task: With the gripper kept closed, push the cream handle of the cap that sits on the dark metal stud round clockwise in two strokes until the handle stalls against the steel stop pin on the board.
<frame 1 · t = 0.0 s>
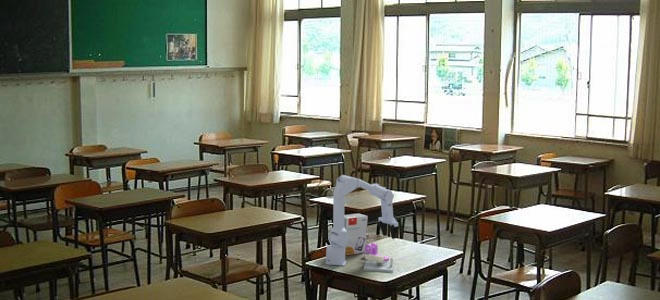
hand: (389, 236, 420), 11 cm above the table, tool pointing down, fingers open, 7 cm apart
cap: (374, 258, 401), point 4 cm above the table, hinge at 0.0°
board: (379, 267, 400), on the table
hard drive box: (350, 253, 426), on the table
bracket: (377, 258, 418), on the table
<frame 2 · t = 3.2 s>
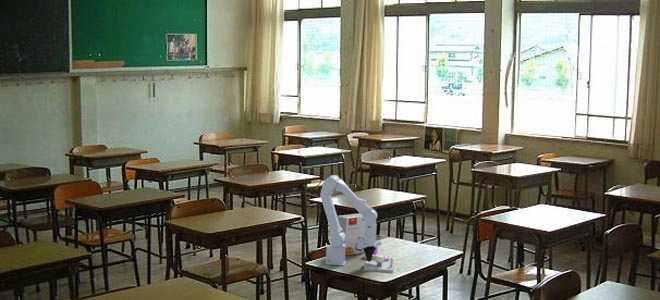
hand: (368, 261, 401), 3 cm above the table, tool pointing down, fingers closed
cap: (374, 258, 401), point 4 cm above the table, hinge at -0.6°, touching gripper
everything else where it was.
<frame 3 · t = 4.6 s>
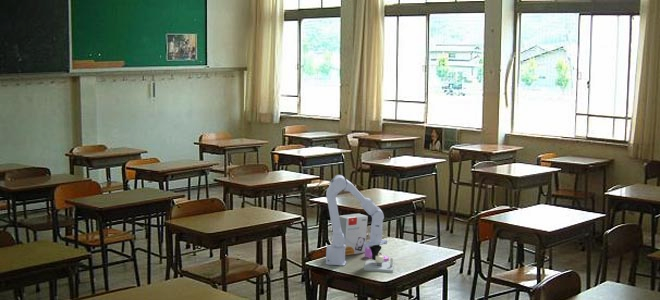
hand: (374, 259, 405), 2 cm above the table, tool pointing down, fingers closed, pressing on cap
cap: (379, 257, 402), point 4 cm above the table, hinge at -57.0°, touching gripper
everything else where it was.
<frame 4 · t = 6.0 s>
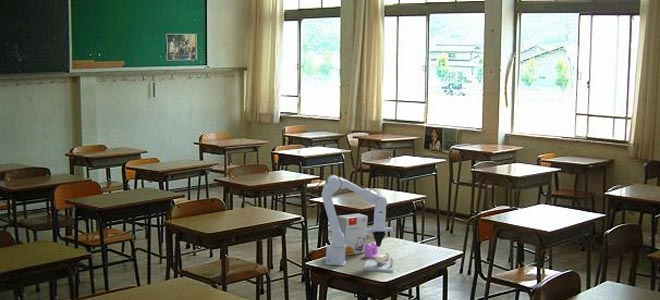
hand: (378, 246, 404), 9 cm above the table, tool pointing down, fingers closed
cap: (382, 258, 402), point 4 cm above the table, hinge at -85.7°
everything else where it was.
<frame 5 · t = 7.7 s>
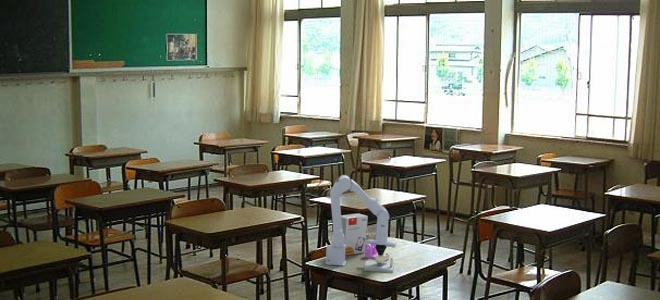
hand: (380, 259, 405), 3 cm above the table, tool pointing down, fingers closed
cap: (382, 258, 402), point 4 cm above the table, hinge at -85.8°, touching gripper
everything else where it was.
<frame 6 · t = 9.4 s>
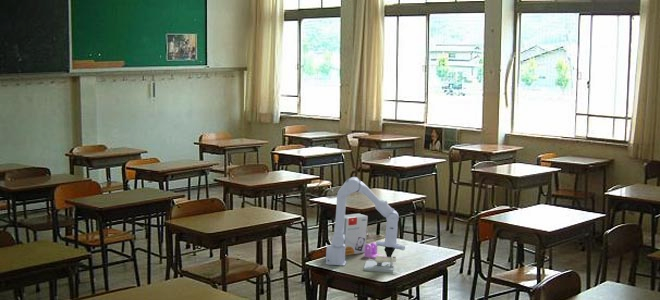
hand: (389, 261, 402), 2 cm above the table, tool pointing down, fingers closed, pressing on cap
cap: (385, 259, 399), point 4 cm above the table, hinge at -140.5°, touching board, gripper
everything else where it was.
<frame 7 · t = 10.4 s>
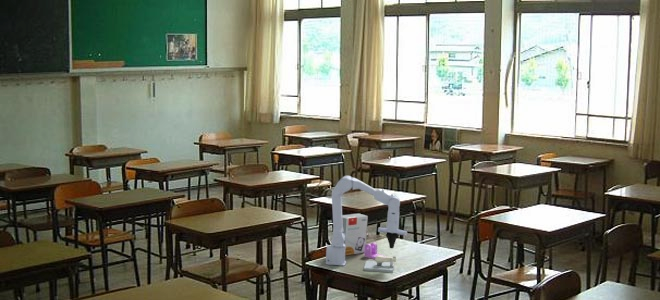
hand: (391, 247, 400), 10 cm above the table, tool pointing down, fingers closed
cap: (385, 259, 399), point 4 cm above the table, hinge at -139.7°
everything else where it was.
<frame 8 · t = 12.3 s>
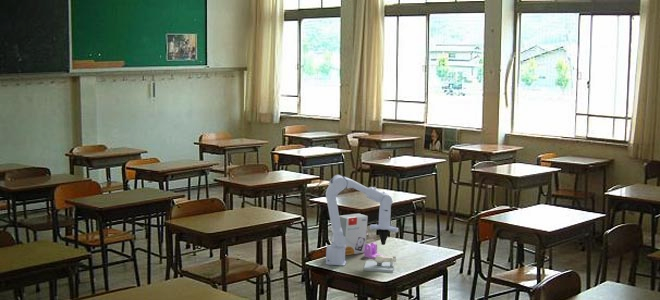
hand: (383, 244, 406), 10 cm above the table, tool pointing down, fingers closed
nothing on the table moved.
at the end: cap at -139° (first picture: +0°) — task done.
